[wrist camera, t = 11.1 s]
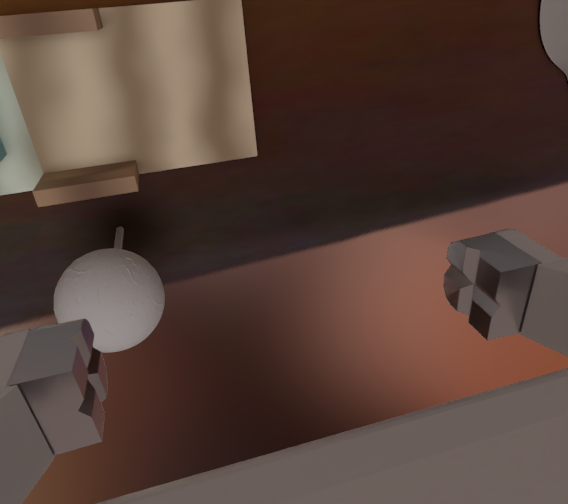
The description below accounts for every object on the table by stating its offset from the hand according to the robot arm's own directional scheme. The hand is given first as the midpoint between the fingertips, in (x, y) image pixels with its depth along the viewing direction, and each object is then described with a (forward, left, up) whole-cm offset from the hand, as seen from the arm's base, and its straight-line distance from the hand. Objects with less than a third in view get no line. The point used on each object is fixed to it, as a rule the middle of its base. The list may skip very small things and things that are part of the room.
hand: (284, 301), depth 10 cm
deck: (+12, 0, -31) cm, 33 cm away
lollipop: (+8, +11, -31) cm, 34 cm away
